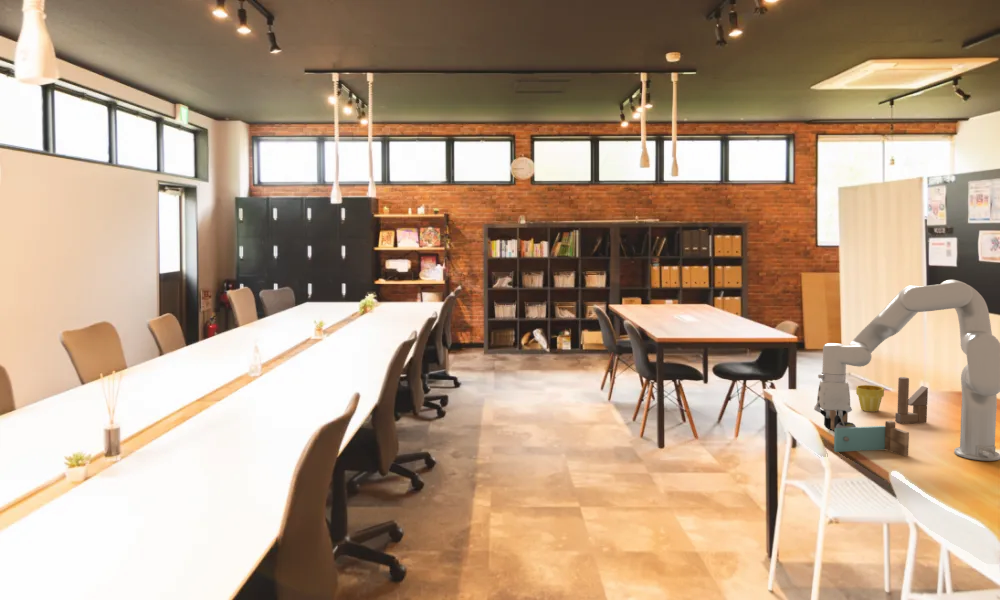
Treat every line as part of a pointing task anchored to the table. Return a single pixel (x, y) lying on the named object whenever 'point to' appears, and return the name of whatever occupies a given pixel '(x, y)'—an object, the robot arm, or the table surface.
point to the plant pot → (870, 397)
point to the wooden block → (911, 403)
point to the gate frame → (886, 436)
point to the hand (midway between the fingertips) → (832, 427)
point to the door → (859, 438)
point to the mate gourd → (844, 423)
